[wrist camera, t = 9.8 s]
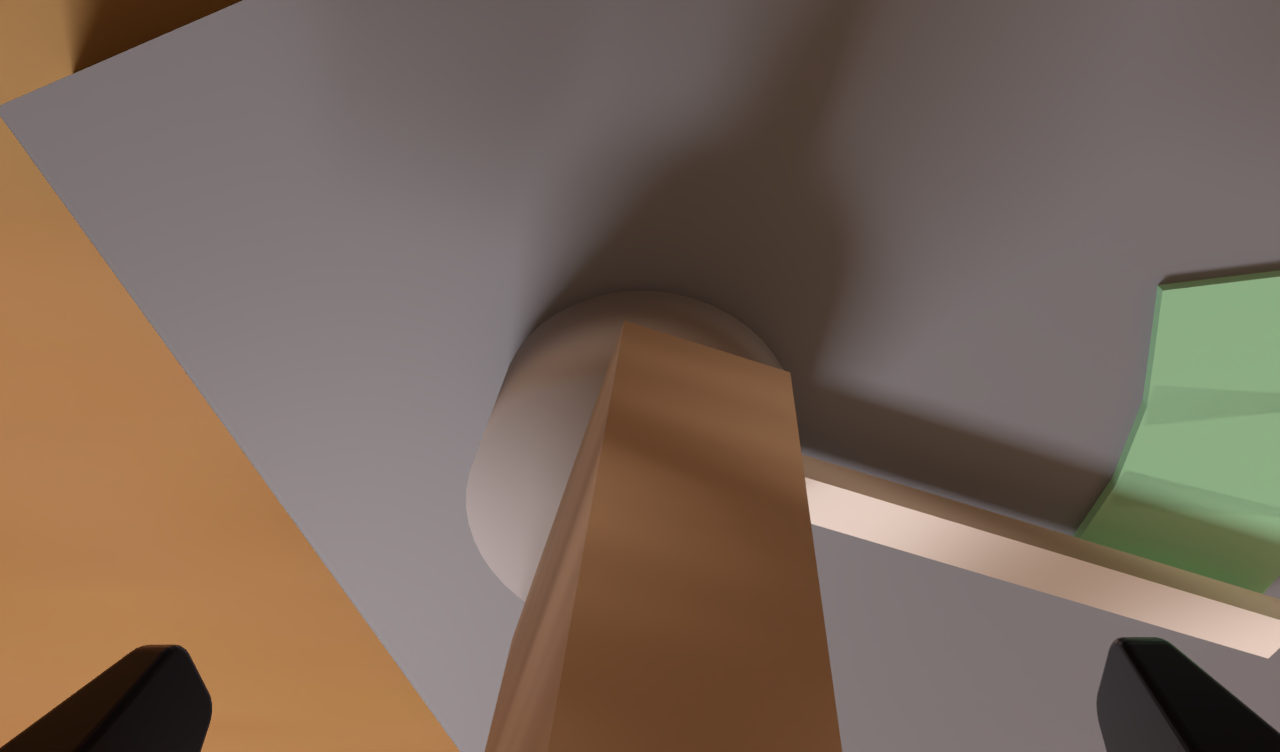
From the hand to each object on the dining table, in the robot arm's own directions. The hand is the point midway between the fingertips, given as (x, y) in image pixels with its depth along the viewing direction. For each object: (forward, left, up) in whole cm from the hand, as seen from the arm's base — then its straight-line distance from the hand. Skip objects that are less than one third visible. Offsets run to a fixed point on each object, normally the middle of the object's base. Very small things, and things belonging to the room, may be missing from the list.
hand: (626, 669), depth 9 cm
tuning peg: (+2, +3, -4) cm, 5 cm away
